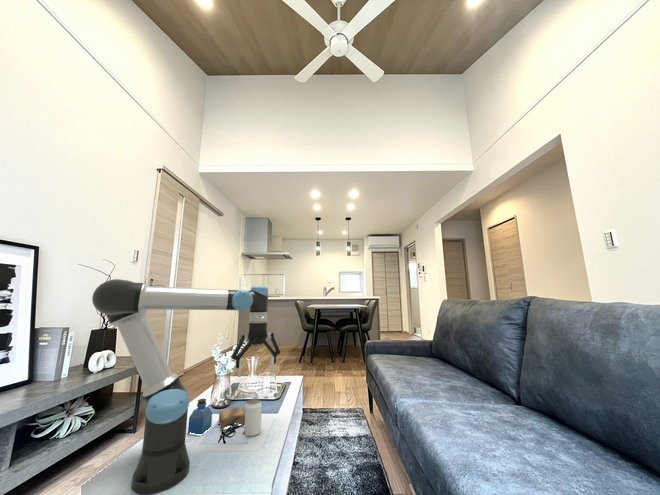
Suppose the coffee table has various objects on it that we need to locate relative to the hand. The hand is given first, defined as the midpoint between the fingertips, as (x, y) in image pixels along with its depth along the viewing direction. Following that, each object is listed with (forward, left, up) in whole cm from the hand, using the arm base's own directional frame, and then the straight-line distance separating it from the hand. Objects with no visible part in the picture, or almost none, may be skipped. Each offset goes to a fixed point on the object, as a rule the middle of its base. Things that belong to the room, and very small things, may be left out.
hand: (255, 374), depth 112 cm
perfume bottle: (-19, +12, -23) cm, 32 cm away
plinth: (-6, +13, -22) cm, 27 cm away
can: (0, 0, -23) cm, 23 cm away
